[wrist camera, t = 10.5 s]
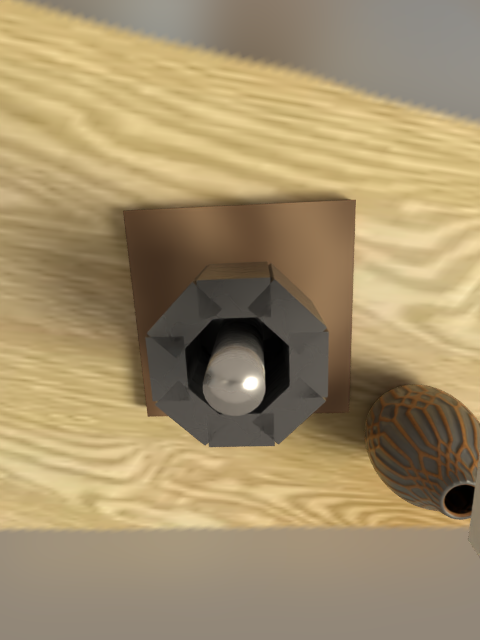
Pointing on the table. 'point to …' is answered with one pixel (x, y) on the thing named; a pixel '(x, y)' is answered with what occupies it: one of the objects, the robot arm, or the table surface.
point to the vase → (425, 448)
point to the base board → (249, 246)
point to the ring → (280, 373)
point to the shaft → (237, 363)
